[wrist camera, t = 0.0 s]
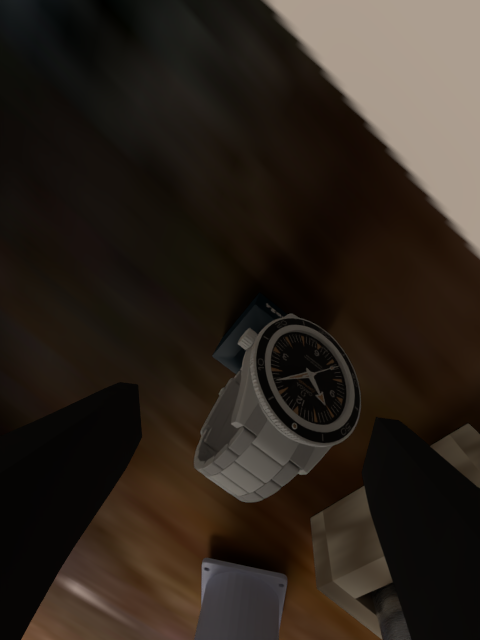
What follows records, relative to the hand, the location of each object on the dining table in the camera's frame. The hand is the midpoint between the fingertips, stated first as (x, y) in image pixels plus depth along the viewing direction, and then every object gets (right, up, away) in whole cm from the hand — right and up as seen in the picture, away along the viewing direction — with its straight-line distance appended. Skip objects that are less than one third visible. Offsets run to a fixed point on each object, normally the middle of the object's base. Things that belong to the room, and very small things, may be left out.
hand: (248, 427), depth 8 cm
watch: (+2, +2, +11) cm, 12 cm away
